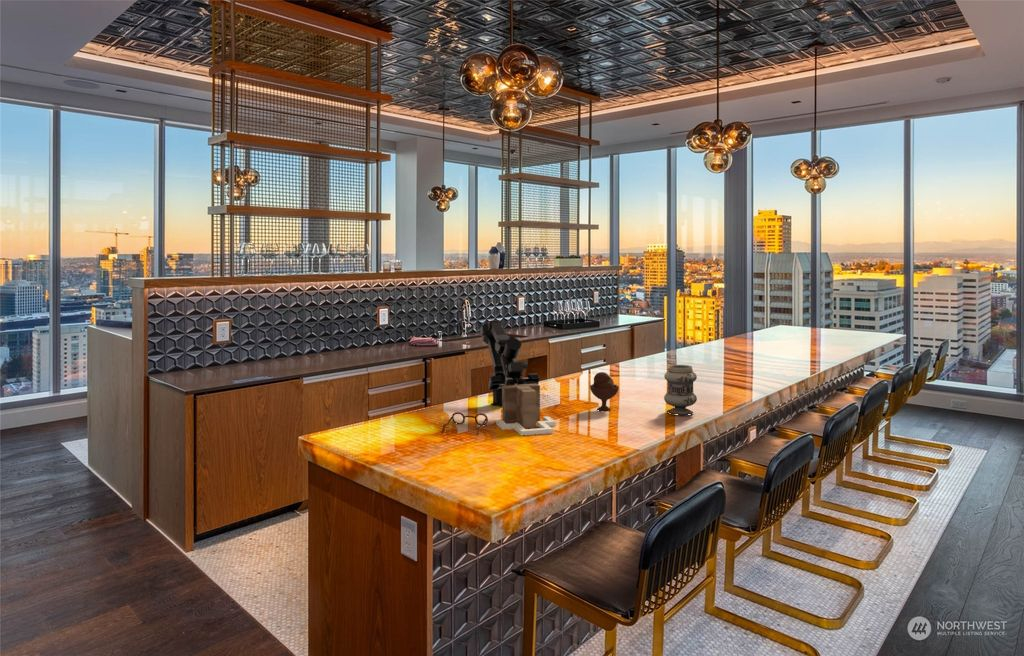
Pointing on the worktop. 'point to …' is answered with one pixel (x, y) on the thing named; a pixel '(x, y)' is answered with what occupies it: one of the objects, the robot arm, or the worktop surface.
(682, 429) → the worktop surface
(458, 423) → the glasses
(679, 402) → the apothecary jar
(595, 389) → the ice cream bowl
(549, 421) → the t outline
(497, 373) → the robot arm
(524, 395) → the t block
